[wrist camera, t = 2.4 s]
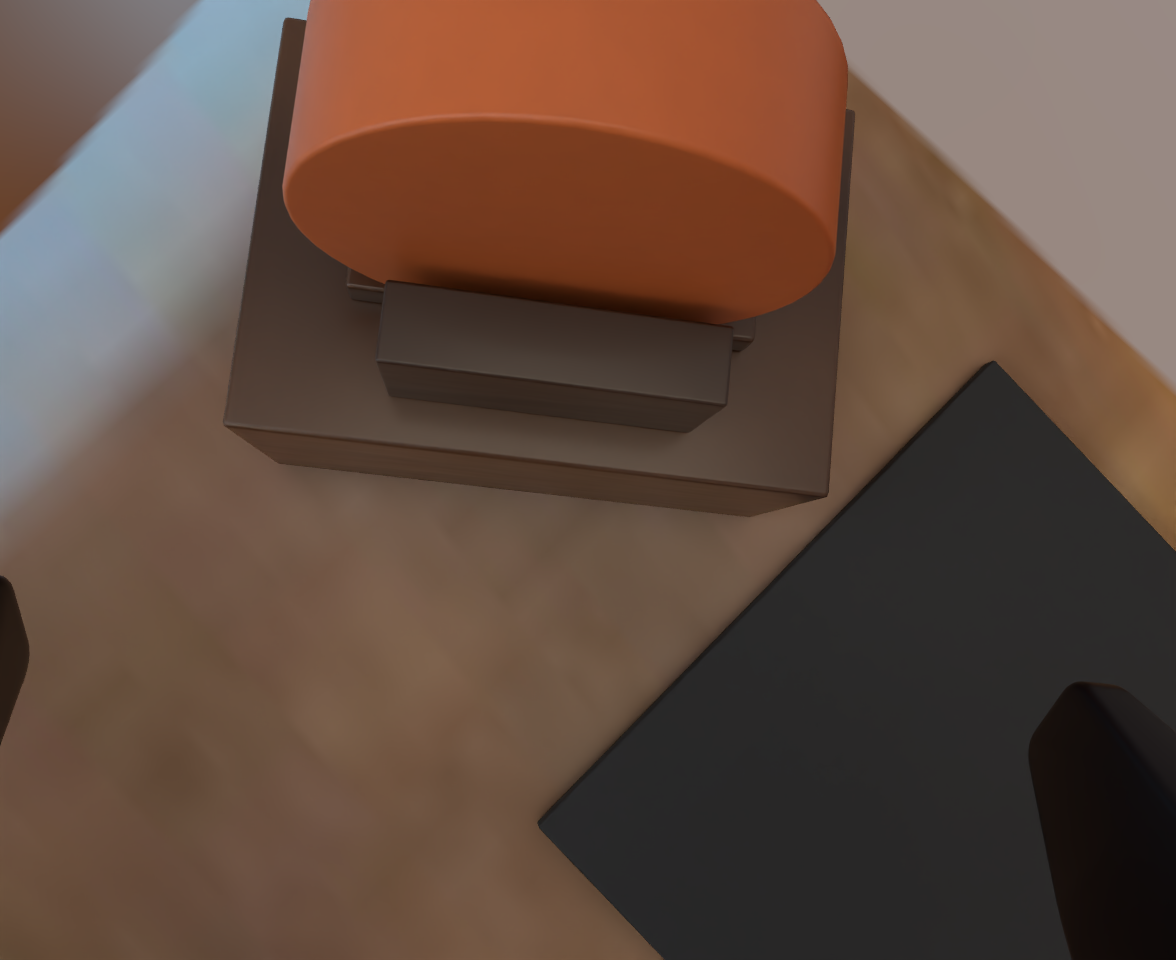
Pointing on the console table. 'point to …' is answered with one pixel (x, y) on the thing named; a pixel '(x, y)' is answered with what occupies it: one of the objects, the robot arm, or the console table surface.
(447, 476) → the brown notched block
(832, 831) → the mat
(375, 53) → the disc
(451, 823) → the console table surface
